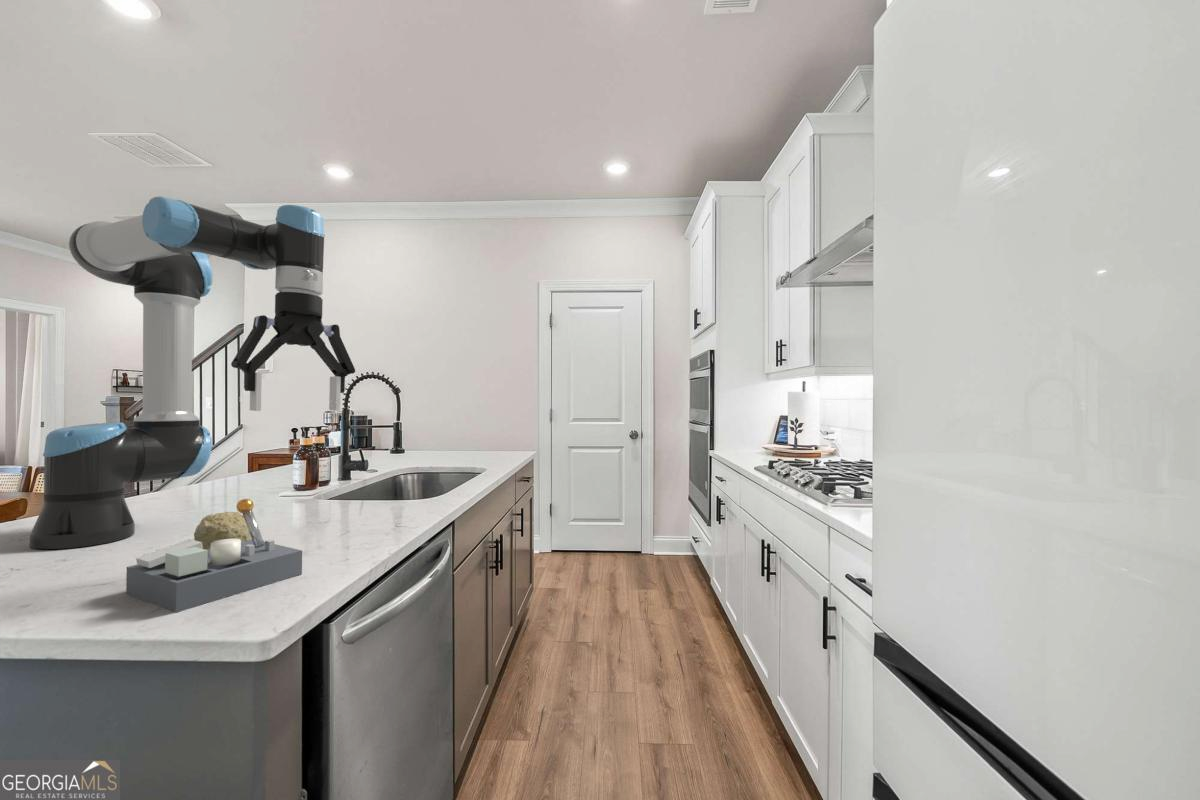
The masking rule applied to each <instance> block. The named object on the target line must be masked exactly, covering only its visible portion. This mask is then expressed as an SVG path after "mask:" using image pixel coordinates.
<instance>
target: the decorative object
mask: <svg viewBox="0 0 1200 800" xmlns="http://www.w3.org/2000/svg"><path fill="white" fill-rule="evenodd" d="M193 537H194V538H193V540H195V541H199V542H202V545H203V548H202V549H204V550H206V549H210V543H212V542H214V541H217V540H223V539H240V540H241V542H242V541H247V540H251V539H252V538H251V535H250V533H249V530H248V527H247V525H246V522H245V519H244V516H243V514H242V513H240V512H239V511H237V512H236V511H226V512H217V513H215V514H213V513H211V514H208V515H205V516H204V517H202V519H201V521H200V522H199V524H198V525H197V526H196V528H195V531H194V533H193Z"/></svg>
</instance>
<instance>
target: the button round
mask: <svg viewBox="0 0 1200 800" xmlns="http://www.w3.org/2000/svg"><path fill="white" fill-rule="evenodd" d="M240 560H241V540H240V539H223V540H217V541H214V542H212V543H210V564H211V565H227V564H232V563H235V562H238V561H240Z"/></svg>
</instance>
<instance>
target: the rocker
mask: <svg viewBox="0 0 1200 800" xmlns="http://www.w3.org/2000/svg"><path fill="white" fill-rule="evenodd" d="M191 547H197V548H201V549H202V548H203V545H202V542H199V541H195V540H194V539H191V538H190V539H189V538H188V539H186V540H183V541H180V542H177V543H174V544H172V545H169V546H166V547H164V548H159V549H160V550H159V549H156V550H157V551H156V550H155V551H152V552H150V553H149V552H148V553H146V554H143V555H140V556H137V557H136V558H135V560H136V565H141V566H144V567H147V568H151V567H154V566H157V565H159V564H162V563H165V553H168V552H172V551H177V550H182V549H186V548H191Z"/></svg>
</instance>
